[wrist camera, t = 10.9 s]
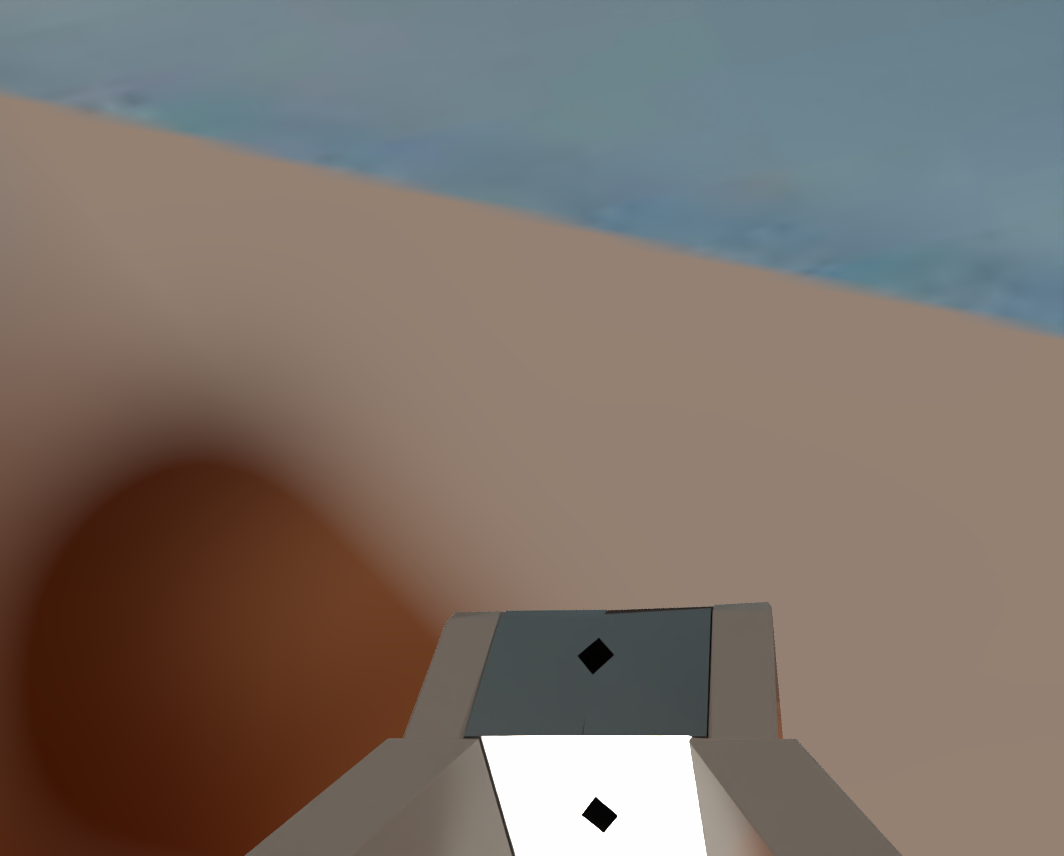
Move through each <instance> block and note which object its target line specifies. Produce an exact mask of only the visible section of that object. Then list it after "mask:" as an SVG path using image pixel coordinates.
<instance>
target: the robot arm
mask: <svg viewBox="0 0 1064 856" xmlns="http://www.w3.org/2000/svg"><path fill="white" fill-rule="evenodd" d="M772 617H773V616H772V608H771V606H770V604H769V603H768V602H761V603H741V604H725V605H714V607H713V606H712V607H711V606H709V607H684V608H655V609H631V610H608V611H607V610H549V611H547V610H546V611H545V610H543V611H541V610H539V611H506V612H456V613H455V614H454V615H453V616H452V617H451V618H449V619H448V621H447V622H446V624H445V626H444V629H443V632H442V635H441V637H440V640H439V642H438V645H437V648H436V651H435V653H434V656H433V659H432V661H431V664H430V667H429V669H428V672H427V675H426V678H425V680H424V683H423V686H422V689H421V691H420V694H419V696H418V699H417V702H416V704H415V707H414V710H413V713H412V715H411V718H410V721H409V723H408V726H407V729H406V731H405V734H404V737H403V739H387V740H386V741H385V742H383V743H382V744H381V745H380V746H378V747H377V748H376V749H375V750H373V751H372V752H371V753H370V754H369V755H367V756H366V757H365V758H364V759H362V760H361V761H360V762H359V763H358V764H356V765H355V766H354V767H353V768H351V769H350V770H349V771H348V772H347V773H345V774H344V775H343V776H342V777H341V778H339V779H338V780H337V781H336V782H335V783H333V784H332V785H331V786H329V787H328V788H327V789H326V790H325V791H323V792H322V793H321V794H320V795H318V796H317V797H316V798H315V799H314V800H312V801H311V802H310V803H309V804H307V805H306V806H305V807H304V808H303V809H301V810H300V811H299V812H298V813H297V814H295V815H294V816H293V817H292V818H290V819H289V820H288V821H287V822H286V823H284V824H283V825H282V826H281V827H279V828H278V829H277V830H276V831H274V832H273V833H272V834H271V835H270V836H268V837H267V838H266V839H265V840H264V841H262V842H261V843H260V844H259V845H257V846H256V847H255V848H254V849H253V850H251V851H250V852H249V853H248V854H246V855H245V856H902V855H901V854H900V853H899V852H898V850H896V848H895V847H894V846H893V845H892V844H891V843H890V842H889V841H888V840H887V838H886V837H885V836H884V835H883V834H882V833H881V832H880V831H879V830H878V829H877V827H876V826H875V825H874V824H873V823H872V822H871V821H870V820H869V819H868V817H867V816H866V815H865V814H864V813H863V812H862V811H861V810H860V809H859V808H858V807H857V806H856V804H855V803H854V802H853V801H852V800H851V799H850V798H849V797H848V796H847V794H846V793H845V792H844V791H843V790H842V789H841V788H840V787H839V786H838V784H836V782H835V781H834V780H833V779H832V778H831V777H830V776H829V775H828V774H827V773H826V772H825V770H824V769H823V768H822V767H821V766H820V765H819V764H818V763H817V762H816V760H815V759H814V758H813V757H812V756H811V755H810V754H809V753H808V752H807V750H806V749H805V748H804V747H803V746H802V745H801V744H800V743H799V742H798V741H797V740H796V739H783V732H782V722H781V721H782V720H781V709H780V698H779V685H778V674H777V663H776V652H775V640H774V628H773V618H772Z"/></svg>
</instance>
